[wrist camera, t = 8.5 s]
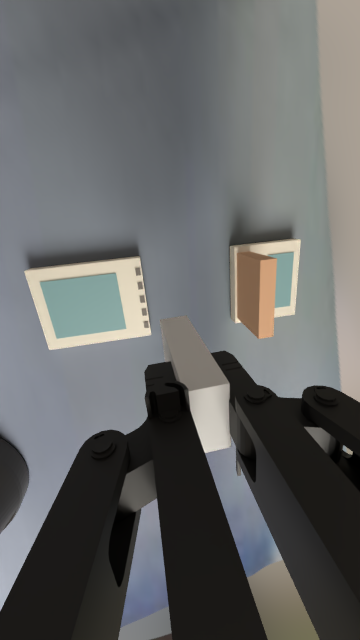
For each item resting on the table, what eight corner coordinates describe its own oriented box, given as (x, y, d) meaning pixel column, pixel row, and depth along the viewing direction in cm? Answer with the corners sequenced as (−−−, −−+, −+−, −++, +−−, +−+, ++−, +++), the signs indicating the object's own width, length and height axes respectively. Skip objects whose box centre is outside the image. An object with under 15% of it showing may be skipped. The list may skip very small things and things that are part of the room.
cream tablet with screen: (53, 344, 24) (49, 350, 22) (30, 268, 21) (23, 271, 20) (150, 329, 25) (151, 335, 23) (139, 255, 22) (139, 257, 21)
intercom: (231, 318, 25) (256, 344, 20) (229, 245, 23) (258, 253, 17) (288, 310, 26) (326, 333, 21) (292, 238, 23) (338, 243, 18)
